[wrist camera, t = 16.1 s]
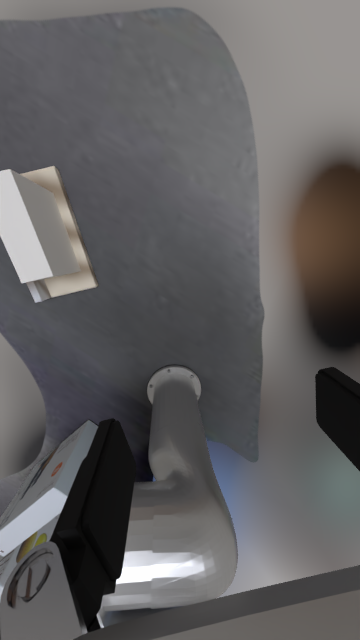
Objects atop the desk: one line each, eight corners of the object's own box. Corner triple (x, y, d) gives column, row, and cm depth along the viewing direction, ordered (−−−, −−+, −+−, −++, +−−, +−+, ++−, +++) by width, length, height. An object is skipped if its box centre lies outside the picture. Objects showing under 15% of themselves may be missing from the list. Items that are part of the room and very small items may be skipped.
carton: (53, 193, 34) (10, 169, 25) (81, 271, 38) (53, 276, 29) (25, 199, 34) (-28, 177, 25) (56, 276, 38) (20, 283, 29)
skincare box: (87, 417, 50) (53, 487, 35) (104, 429, 51) (79, 502, 36) (32, 464, 53) (-21, 548, 38) (50, 475, 55) (5, 559, 39)
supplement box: (73, 507, 58) (38, 602, 42) (53, 523, 60) (12, 621, 44) (44, 491, 56) (-5, 586, 40) (24, 509, 57) (-31, 607, 41)
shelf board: (98, 285, 41) (90, 289, 36) (47, 297, 41) (33, 303, 36) (58, 169, 35) (42, 157, 30) (-2, 184, 35) (-27, 173, 30)
